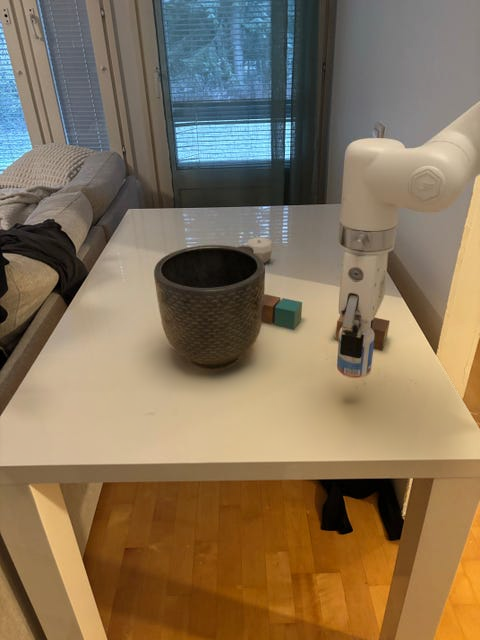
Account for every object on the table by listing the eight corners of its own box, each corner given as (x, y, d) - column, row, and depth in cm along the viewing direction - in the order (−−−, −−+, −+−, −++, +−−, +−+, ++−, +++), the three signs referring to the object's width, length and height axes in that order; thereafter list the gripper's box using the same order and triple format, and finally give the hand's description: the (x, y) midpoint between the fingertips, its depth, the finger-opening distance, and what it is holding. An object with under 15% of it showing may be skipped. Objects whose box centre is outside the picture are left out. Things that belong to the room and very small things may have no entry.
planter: (255, 390, 82) (256, 295, 72) (150, 379, 86) (136, 286, 76) (269, 331, 99) (271, 247, 89) (180, 323, 102) (172, 241, 92)
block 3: (362, 333, 97) (364, 315, 95) (356, 344, 94) (359, 325, 92) (341, 329, 99) (343, 310, 97) (335, 339, 96) (337, 320, 93)
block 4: (386, 339, 95) (389, 320, 93) (382, 350, 92) (385, 331, 90) (364, 334, 97) (367, 315, 95) (359, 345, 94) (362, 326, 91)
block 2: (301, 319, 103) (302, 302, 100) (293, 329, 99) (294, 311, 97) (282, 315, 104) (282, 297, 102) (274, 325, 101) (274, 307, 99)
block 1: (280, 315, 104) (280, 297, 102) (272, 324, 101) (272, 306, 99) (261, 310, 106) (261, 293, 104) (253, 320, 103) (253, 302, 100)
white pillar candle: (239, 263, 129) (239, 241, 125) (254, 253, 134) (254, 232, 131) (264, 269, 125) (264, 247, 122) (278, 259, 131) (279, 237, 127)
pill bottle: (356, 356, 79) (361, 305, 74) (377, 373, 74) (384, 320, 69) (329, 365, 77) (333, 314, 72) (349, 383, 72) (355, 330, 68)
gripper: (381, 262, 56) (367, 382, 65) (405, 219, 69) (390, 324, 78) (321, 254, 59) (315, 369, 68) (355, 214, 72) (346, 315, 81)
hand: (355, 344), depth 73 cm, fingers closed on pill bottle, 5 cm apart
